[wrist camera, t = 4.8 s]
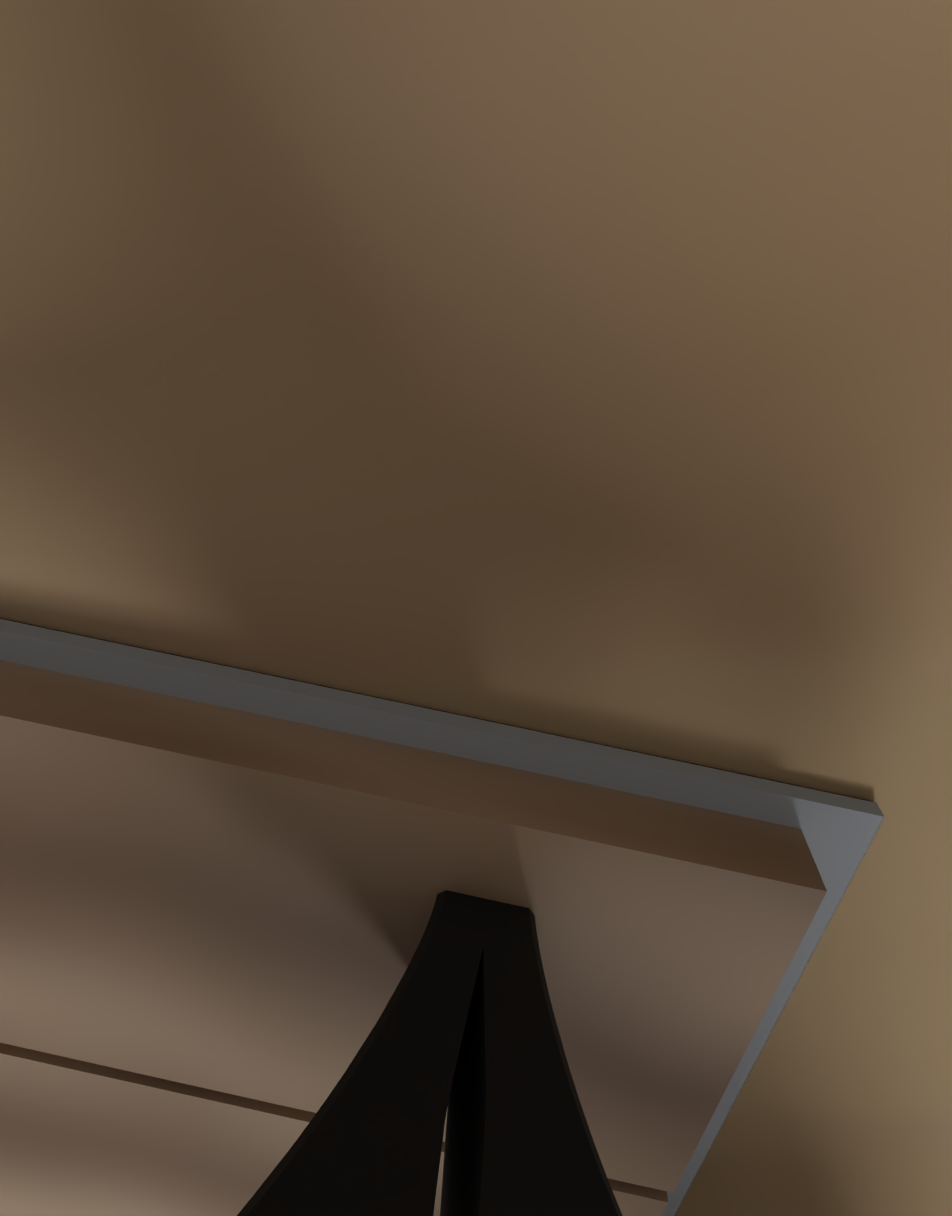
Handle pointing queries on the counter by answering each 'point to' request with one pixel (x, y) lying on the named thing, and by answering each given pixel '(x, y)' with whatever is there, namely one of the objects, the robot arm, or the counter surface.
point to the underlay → (824, 818)
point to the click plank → (366, 905)
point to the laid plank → (151, 1144)
